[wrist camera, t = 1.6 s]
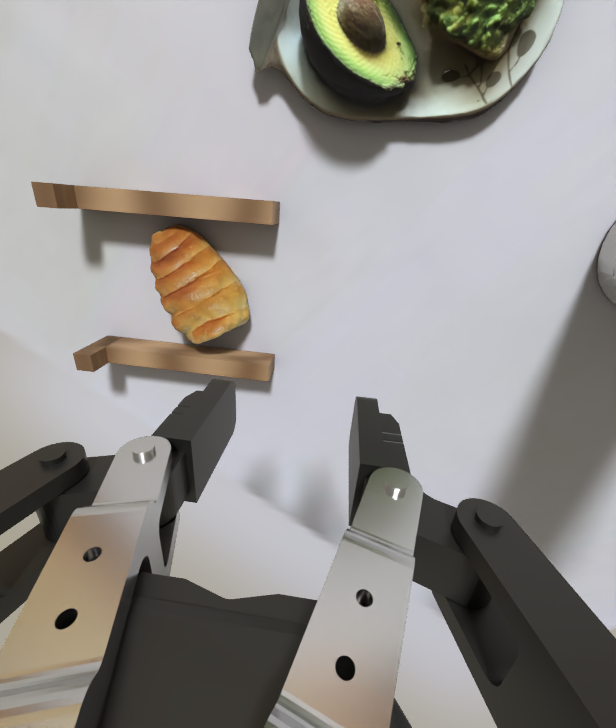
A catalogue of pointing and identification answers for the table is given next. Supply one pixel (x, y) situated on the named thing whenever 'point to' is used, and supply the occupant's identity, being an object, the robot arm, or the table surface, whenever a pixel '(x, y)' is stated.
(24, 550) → the robot arm
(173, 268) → the pastry
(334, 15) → the salad plate
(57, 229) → the table surface
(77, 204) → the pair of wooden bars
